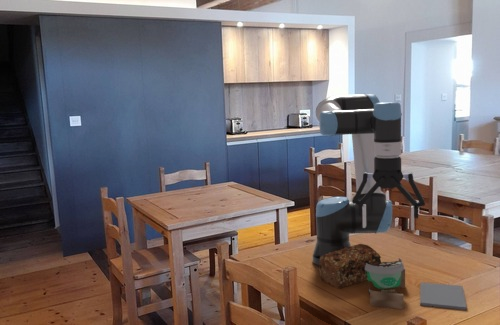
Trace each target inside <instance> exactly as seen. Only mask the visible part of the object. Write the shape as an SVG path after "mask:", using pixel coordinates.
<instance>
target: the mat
mask: <svg viewBox="0 0 500 325" xmlns="http://www.w3.org/2000/svg"><path fill="white" fill-rule="evenodd" d="M419 289H420V292H419V293H420V295H419V296H420V297H419V298H420V299H419V300H420V303H419V304H420V306H422V307H423V306H424V307H432V306H433V307H435V308H443V309H444V308H445V309H454V310H461V311H462V310H463V311H464V310H465V311H467V310H468V308H467V302H466V296H465V292H464V287H463V285H457V284H444V283H435V282H433V283H432V282H422V281H420V288H419ZM433 307H432V308H433Z"/></svg>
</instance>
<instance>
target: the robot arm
mask: <svg viewBox="0 0 500 325" xmlns="http://www.w3.org/2000/svg"><path fill="white" fill-rule="evenodd" d="M402 115H403V113H402V105H401V104H400V102H399V101H398V102H397V101H390V102H389V101H388V102H380V100H379V98H378V96H376V95H375V94H373V93H369V94H368V93H362V94H361V93H360V94H343V95H342V94H341V95H339V94H338V95H332V96H329V97H327V98H324V99H322V101H320V102H319V103H318V104H317V106H316V108H315V117H316V120H317V121H318V122H319V123H318V124H319V132H320V135H322V136H331V137H332V136H339V135H351V140H352V141H351V142H352V150H353V151H352V152H353V164H354V175H355V176H354V178H355V187H356V188H355V189H356V192H355V194H354V195H353V196H352V200H349V198H348V197H346V196H332V197H326V198H323V199H321V200H319V201H318V202H317V204H316V206H315V207H316V208H315V210H316V211H315V212H316V213H315V217H316V243H315V246H314V249H313V253H312V263H313V264H314V265H316V266H318V267H319V259H320V258H321V256H323V255H325V254H327V253H330V252H333V251H338V250H340V249H344V248H346V247H350V246H352V245H351V242H350V234H351V235H352V234H379V233H381V234H382V233H387V232H388V231H389V230H390V228H391V225H392V221H393V220H392V219H393V203H392V200H390V199H387V196H386V193H385V192H384V191H382V189H383V190H384V189H391V190H393V189H395V188H396V189H397V190H398V191H399V192H400V193H401V194H402V195H403V196H404V197H405V198H406V200H407V201H408V202H409V203H410V204H411V206H410V214H411V215H410V228H411V231H415V219H419V208H420V207H424V206H425V205H426V201H425V199H424V197H423V194H422V193H421V191H420V189H419V188H418V186H417V184H416V182H415V180H414V174H413V172H412V171H410V172H408V173H403V171H402V157H401V155H402ZM403 179H405V181H406V182H408V184H409V185H410V187H411V189H412V191H413V193H414V195H415V196H416V198H417V200H418V201H417V200H416V198H414V196H412V195H411V193H410V192H409V191H408V190H407V189H406V188H405V187H404V185H403V184H402V183H401V181H402V180H403Z"/></svg>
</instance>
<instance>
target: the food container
mask: <svg viewBox="0 0 500 325" xmlns="http://www.w3.org/2000/svg"><path fill="white" fill-rule="evenodd" d="M404 268H405V267H404V263H403V260H402V259H401V258H400V257H398V260H396V261H381V263H378V264H375V265H370V264H367V263H366V265H365V270H366V271H367V278H368V280H367V284H368V285H367V286H368V293H369V295H370V291H379V292H389V293H399V294H400V289H401V287H400V281H401V271H403V270H404Z"/></svg>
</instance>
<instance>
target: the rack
mask: <svg viewBox="0 0 500 325" xmlns="http://www.w3.org/2000/svg"><path fill="white" fill-rule="evenodd" d="M400 288H405V289H406V267H404V270H403V271H401V281H400ZM369 306H370V307H381V308H389V309H397V310H398V309H399V310H404V293H400V292H399V293H389V292H379V291H370V294H369Z"/></svg>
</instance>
